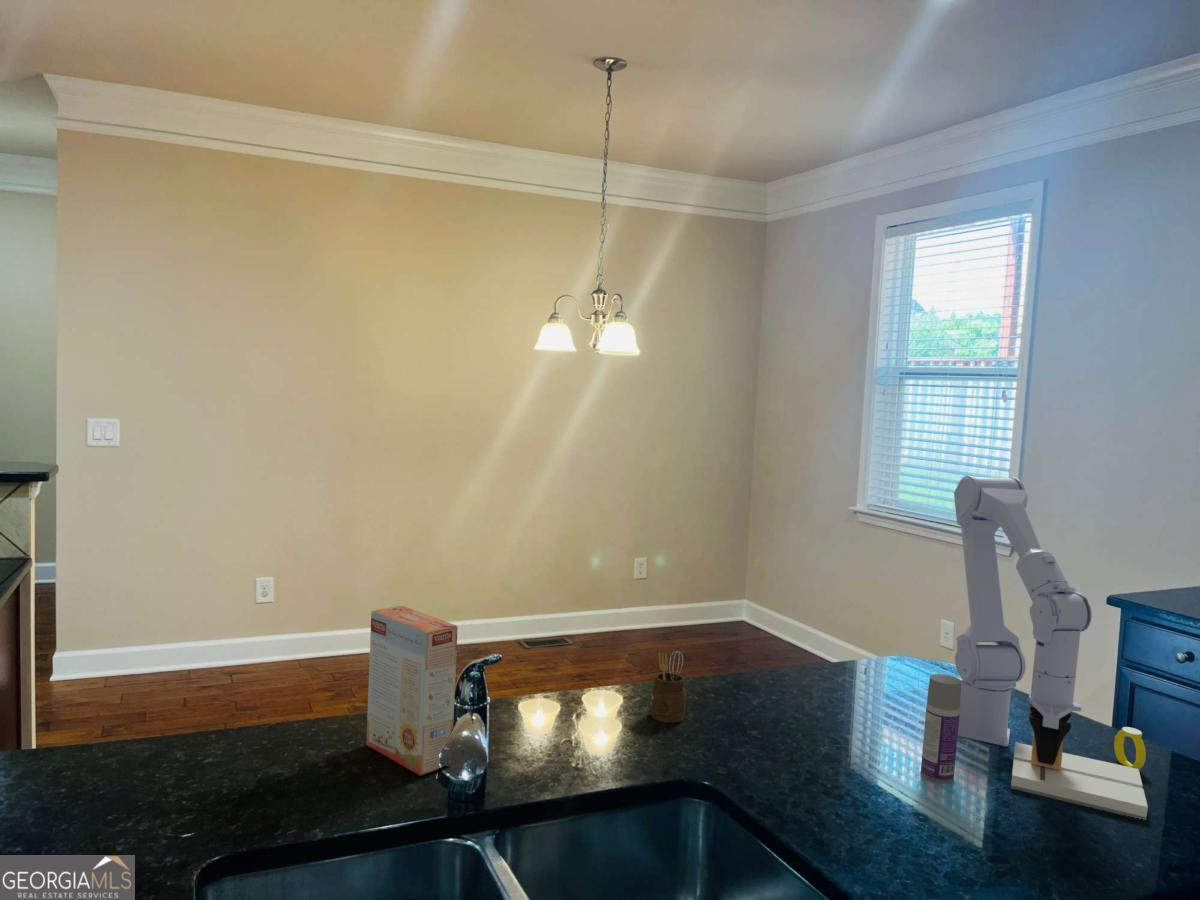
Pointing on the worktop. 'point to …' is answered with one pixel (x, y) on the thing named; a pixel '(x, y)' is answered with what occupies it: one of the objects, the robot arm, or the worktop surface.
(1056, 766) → the fader tab
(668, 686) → the utensil holder
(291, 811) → the worktop surface
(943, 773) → the container
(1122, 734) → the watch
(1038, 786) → the fader console
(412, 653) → the cracker box
